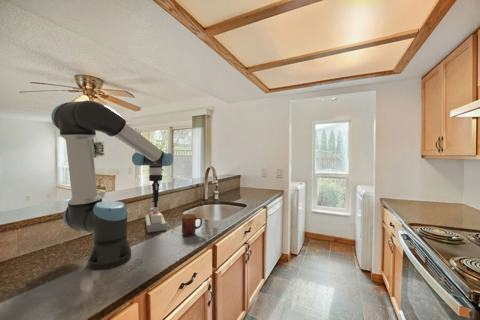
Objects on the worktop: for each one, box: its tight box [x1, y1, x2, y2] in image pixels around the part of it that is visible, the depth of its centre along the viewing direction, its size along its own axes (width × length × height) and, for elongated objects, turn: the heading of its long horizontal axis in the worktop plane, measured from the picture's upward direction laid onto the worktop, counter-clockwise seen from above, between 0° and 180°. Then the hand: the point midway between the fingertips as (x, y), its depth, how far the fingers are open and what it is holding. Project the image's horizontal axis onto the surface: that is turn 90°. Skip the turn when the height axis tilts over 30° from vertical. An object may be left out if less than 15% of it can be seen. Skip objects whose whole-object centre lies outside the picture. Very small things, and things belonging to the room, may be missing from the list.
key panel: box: [145, 212, 167, 233], centre depth 126 cm, size 10×23×4 cm, turn 27°
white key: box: [151, 212, 161, 224], centre depth 119 cm, size 5×5×4 cm
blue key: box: [149, 207, 160, 217], centre depth 133 cm, size 5×5×4 cm
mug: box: [180, 213, 203, 237], centre depth 112 cm, size 12×9×10 cm
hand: (155, 211), depth 126 cm, fingers closed
